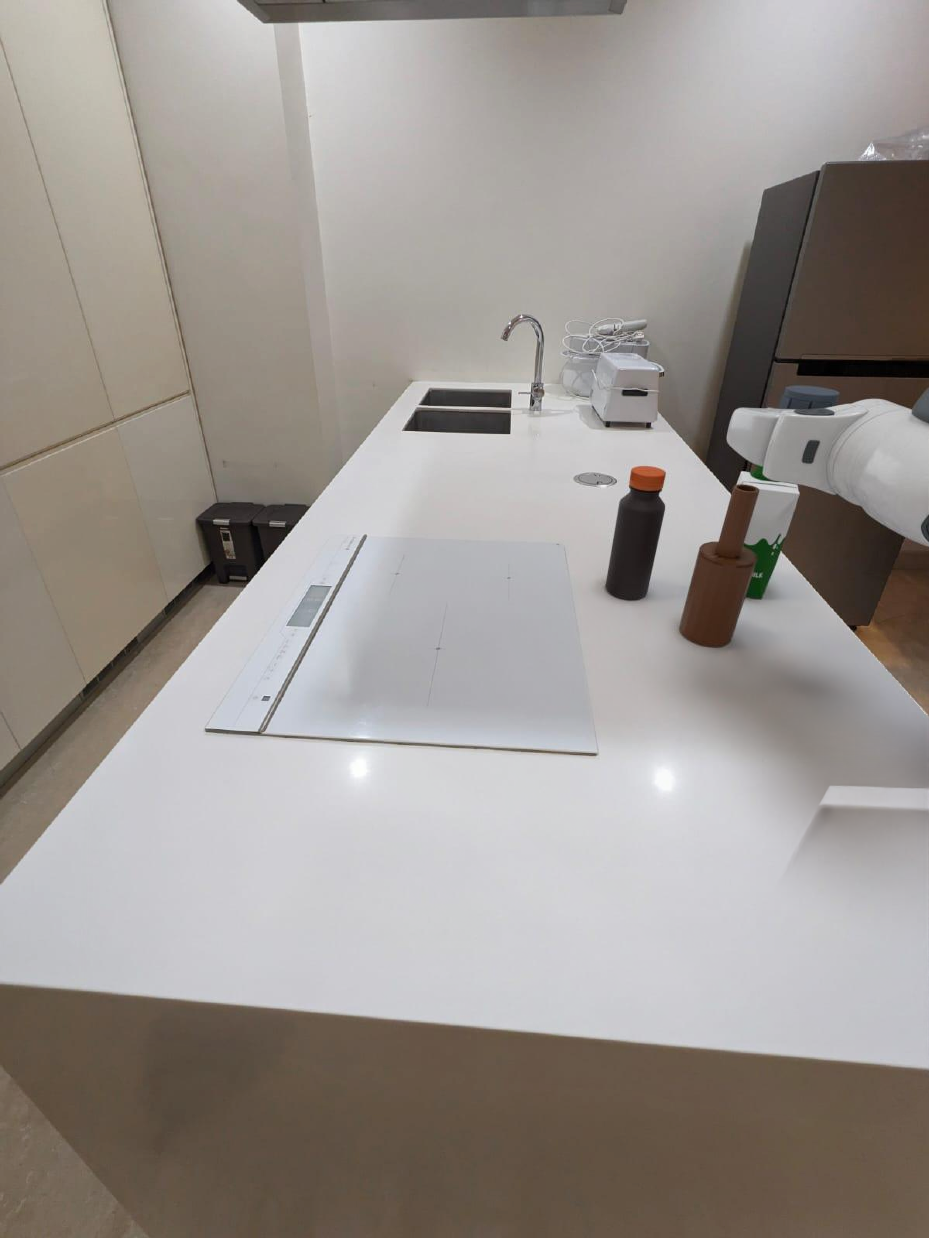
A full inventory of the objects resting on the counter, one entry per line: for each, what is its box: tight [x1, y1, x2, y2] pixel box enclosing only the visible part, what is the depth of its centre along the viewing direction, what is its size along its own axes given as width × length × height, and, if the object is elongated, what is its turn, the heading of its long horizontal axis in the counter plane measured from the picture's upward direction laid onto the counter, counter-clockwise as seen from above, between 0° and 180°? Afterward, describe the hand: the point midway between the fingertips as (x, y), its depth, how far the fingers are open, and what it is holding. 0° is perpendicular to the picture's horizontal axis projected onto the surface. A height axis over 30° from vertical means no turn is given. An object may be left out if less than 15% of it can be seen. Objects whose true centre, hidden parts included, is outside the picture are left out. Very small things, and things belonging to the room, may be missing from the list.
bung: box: [778, 385, 841, 409], centre depth 67 cm, size 5×5×8 cm
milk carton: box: [735, 465, 801, 600], centre depth 92 cm, size 9×9×20 cm
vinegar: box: [605, 465, 667, 600], centre depth 90 cm, size 7×7×20 cm
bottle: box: [679, 484, 760, 648], centre depth 79 cm, size 7×7×22 cm
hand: (799, 415), depth 67 cm, fingers closed on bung, 5 cm apart
